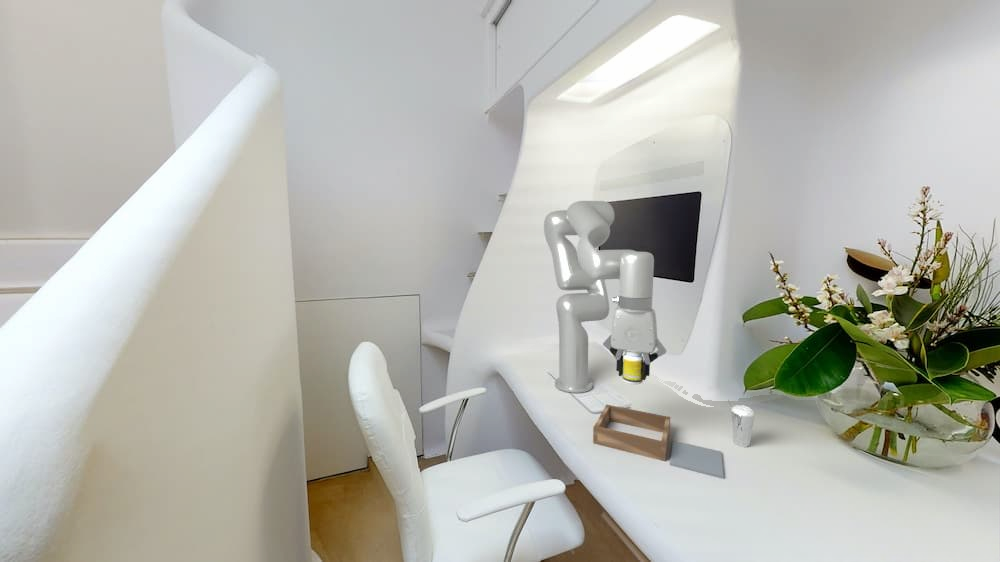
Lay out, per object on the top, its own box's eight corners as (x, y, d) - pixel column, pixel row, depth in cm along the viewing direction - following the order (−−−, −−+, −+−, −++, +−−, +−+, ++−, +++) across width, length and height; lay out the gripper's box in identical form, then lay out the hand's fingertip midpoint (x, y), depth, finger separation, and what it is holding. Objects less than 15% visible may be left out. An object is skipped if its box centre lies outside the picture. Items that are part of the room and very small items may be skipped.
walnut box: (606, 418, 100) (606, 404, 100) (669, 431, 93) (670, 417, 92) (593, 443, 88) (593, 427, 88) (665, 461, 81) (665, 444, 80)
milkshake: (729, 435, 91) (730, 396, 90) (754, 443, 87) (757, 403, 86) (723, 442, 88) (725, 402, 86) (750, 451, 84) (752, 409, 83)
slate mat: (672, 442, 88) (673, 440, 88) (721, 453, 83) (721, 451, 83) (669, 464, 79) (669, 462, 79) (723, 478, 74) (723, 476, 74)
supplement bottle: (644, 385, 87) (645, 351, 86) (623, 384, 88) (624, 350, 87) (640, 377, 91) (641, 345, 90) (621, 376, 92) (622, 344, 91)
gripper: (595, 303, 88) (594, 375, 90) (673, 309, 80) (669, 388, 82) (603, 298, 94) (601, 365, 97) (675, 303, 86) (671, 377, 89)
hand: (632, 375), depth 89 cm, fingers closed on supplement bottle, 4 cm apart
